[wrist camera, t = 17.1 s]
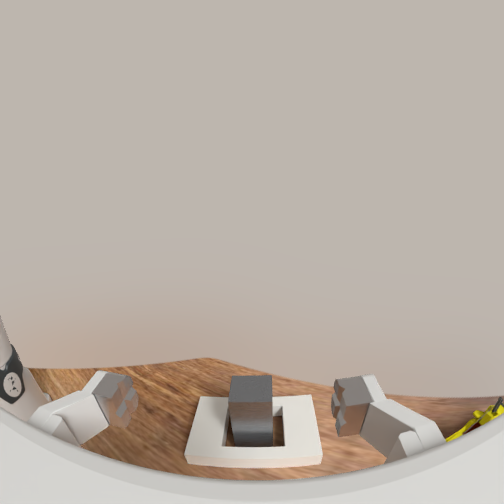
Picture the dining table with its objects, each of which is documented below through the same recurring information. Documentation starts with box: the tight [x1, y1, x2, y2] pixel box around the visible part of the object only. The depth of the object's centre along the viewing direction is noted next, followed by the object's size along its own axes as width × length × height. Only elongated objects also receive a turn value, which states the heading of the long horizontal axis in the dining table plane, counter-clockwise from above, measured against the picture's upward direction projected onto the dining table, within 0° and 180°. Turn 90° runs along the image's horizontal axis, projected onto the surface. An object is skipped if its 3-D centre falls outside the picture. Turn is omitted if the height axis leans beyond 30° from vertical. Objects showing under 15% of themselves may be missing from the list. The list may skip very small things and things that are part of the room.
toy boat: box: [445, 397, 504, 442], centre depth 19 cm, size 6×18×10 cm, turn 94°
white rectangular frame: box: [184, 395, 323, 468], centre depth 32 cm, size 17×12×2 cm
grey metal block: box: [228, 375, 273, 447], centre depth 31 cm, size 5×5×10 cm
